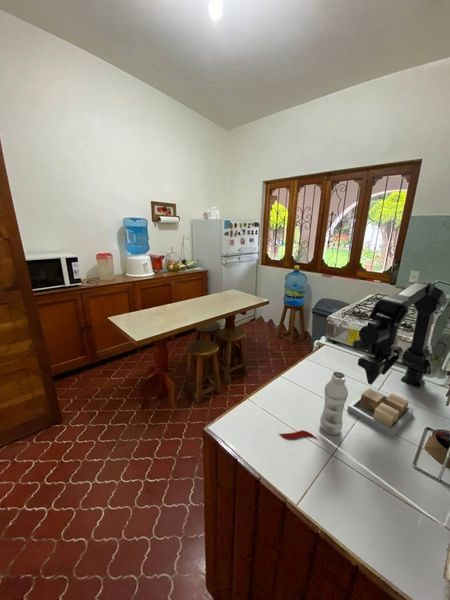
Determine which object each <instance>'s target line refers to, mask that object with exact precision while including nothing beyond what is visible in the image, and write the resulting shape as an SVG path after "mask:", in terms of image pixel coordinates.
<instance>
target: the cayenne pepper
mask: <svg viewBox="0 0 450 600" xmlns="http://www.w3.org/2000/svg"><path fill="white" fill-rule="evenodd" d="M279 436H281V438H283V439H285V440H297V439H301V438H311V439H313V438H314V439H316V440H318V438H317V437H316V436H315V435H314V434H312V433H311V432H309V431H306V430H304V429H303V430H301V429H300V430H299V431H295V432H287V433H279Z"/></svg>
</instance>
